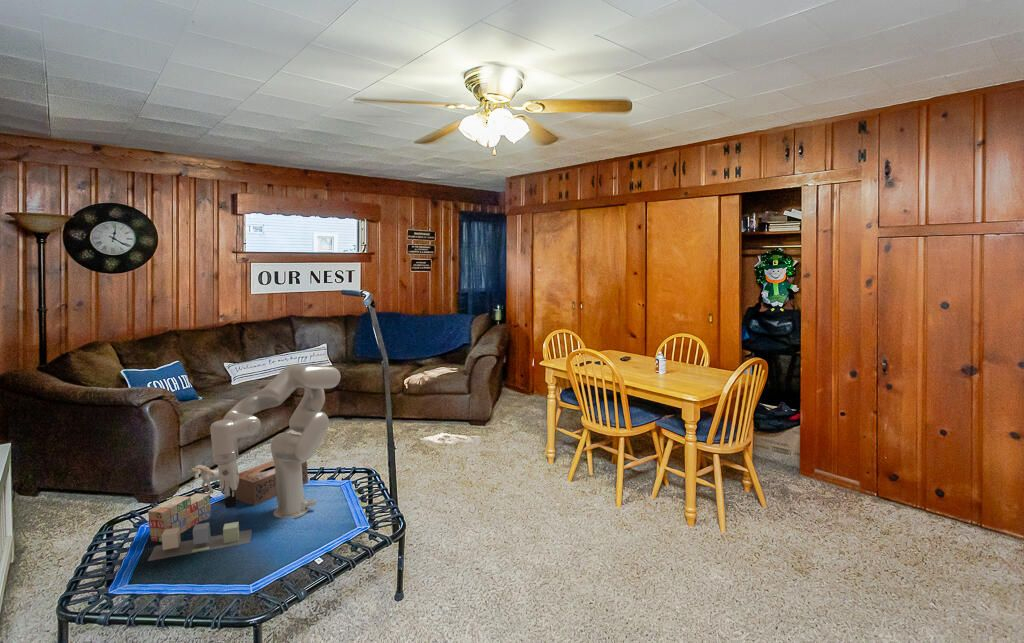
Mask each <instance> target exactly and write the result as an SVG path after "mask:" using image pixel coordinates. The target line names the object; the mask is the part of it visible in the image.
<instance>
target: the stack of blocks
mask: <svg viewBox="0 0 1024 643" xmlns="http://www.w3.org/2000/svg"><path fill="white" fill-rule="evenodd" d="M211 503H212V502H211V494H210V495H209V494H208V493H198V492H197V493H194V494H192V495H190V496H181V495H175V496H173V497H172V498H170V499H167V500H166V501H164V502H163V503H160V504H158V505H157V506H154V507H153V508H150V509H149V510H148V511H147V512H148V514H147V515H148V526H149V534H150V537H149V538H150V542H159V543H162V534H163V532H164V530H166V529H172V528H178V527H180V535H181V534H183V533H184V532H186V531H187V530H188V529H190V528H192V527H194V526H195V525H196V524H199V523H201V522H202V521H203V522H204V521H208V520H209V519H211V518H212V504H211Z"/></svg>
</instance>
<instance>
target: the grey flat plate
mask: <svg viewBox="0 0 1024 643" xmlns="http://www.w3.org/2000/svg"><path fill="white" fill-rule="evenodd" d="M252 532H253V529H247V530H242V531H240V530H239V534H240V535H239V540H238V541H235V542H229V543H224V536H223V534H218V535H213V536H212V535H210V539H209V542H206V543H200V544H195V545H194V541H193V539H190V540H183V541H182V540H181V542H180V544H179V547H178V548H172V549H166V550H163V546H162V544H161V545H160V544H159V545H155V546H154V548H153V549H152V551H151V554H150V555H149V557H148V559H147V562H150V561H157V560H162V559H167V558H172V557H173V558H174V557H179V556H184V555H189V554H195V553H200V552H206V551H212V550H218V549H222V548H229V547H234V546H239V545H245V544H246V545H247V544H250V543H251V538H252Z"/></svg>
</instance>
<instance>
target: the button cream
mask: <svg viewBox="0 0 1024 643" xmlns="http://www.w3.org/2000/svg"><path fill="white" fill-rule="evenodd" d="M180 542H182V540H181V534H180V527H178V528H172V529H166V530H164V532H163V534H162V542H161V545H162V546H163V550H166V549H172V548H178V547H179V544H180Z"/></svg>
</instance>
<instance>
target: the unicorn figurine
mask: <svg viewBox="0 0 1024 643" xmlns="http://www.w3.org/2000/svg"><path fill="white" fill-rule="evenodd" d="M191 469H192V470H188V471H187V473H193V474H194V479H195V480H198V479H199V478H200V477H199V476H201V479H202V482H201V487H202V489H203V491H205V493H207V494H209V495H210V496H211V494H214V488H213V487H212V484H211V482H216V481H219V471H218V469H217V470H216V469H215V470H213V469H211V468H209V467H208V466H206V465H203V464H198V465H196V466H195V467H194V468H193V467H191ZM205 484H206V485H207V486H205Z"/></svg>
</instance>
